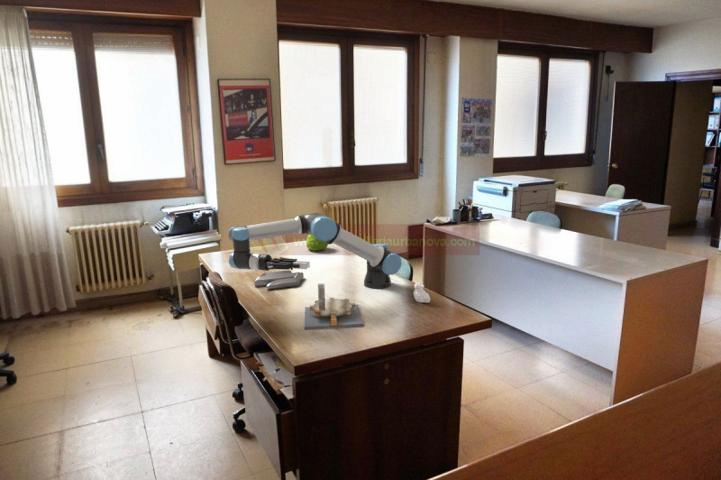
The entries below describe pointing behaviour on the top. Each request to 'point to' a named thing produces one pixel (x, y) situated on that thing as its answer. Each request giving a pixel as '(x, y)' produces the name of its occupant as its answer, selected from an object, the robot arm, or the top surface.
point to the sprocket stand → (333, 320)
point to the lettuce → (315, 243)
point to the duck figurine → (420, 293)
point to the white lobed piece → (330, 305)
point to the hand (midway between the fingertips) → (308, 265)
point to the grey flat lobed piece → (279, 279)
